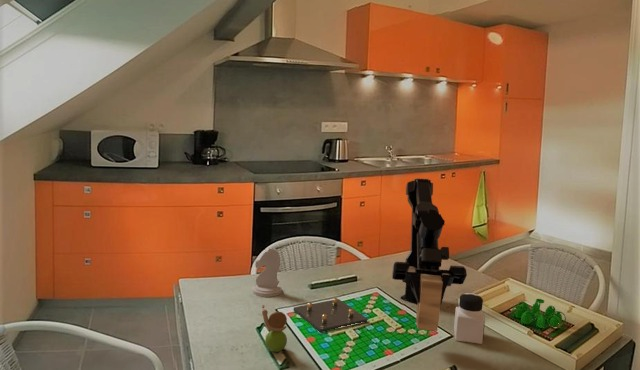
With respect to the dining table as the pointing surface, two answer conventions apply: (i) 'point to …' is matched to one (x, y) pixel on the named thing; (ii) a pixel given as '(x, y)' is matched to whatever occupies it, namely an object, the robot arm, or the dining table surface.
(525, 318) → the green bumpy clump
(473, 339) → the medicine bottle
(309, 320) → the standoff plate
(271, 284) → the chess piece
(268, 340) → the snail figurine
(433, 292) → the wood block
